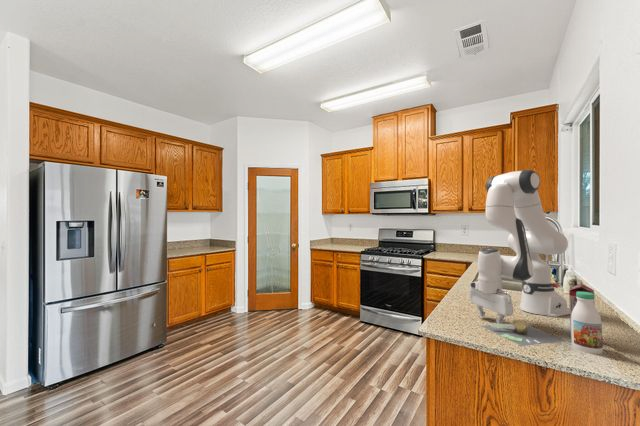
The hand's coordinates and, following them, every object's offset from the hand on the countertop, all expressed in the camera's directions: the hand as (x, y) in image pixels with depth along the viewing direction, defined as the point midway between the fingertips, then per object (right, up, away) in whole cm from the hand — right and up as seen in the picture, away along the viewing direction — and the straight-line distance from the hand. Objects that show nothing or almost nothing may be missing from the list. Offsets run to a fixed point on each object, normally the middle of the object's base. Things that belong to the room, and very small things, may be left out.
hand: (490, 319), depth 122 cm
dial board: (+5, -2, -11) cm, 12 cm away
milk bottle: (+18, -2, -25) cm, 31 cm away
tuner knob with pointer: (+1, -1, -10) cm, 10 cm away
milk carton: (+25, -2, -16) cm, 30 cm away
